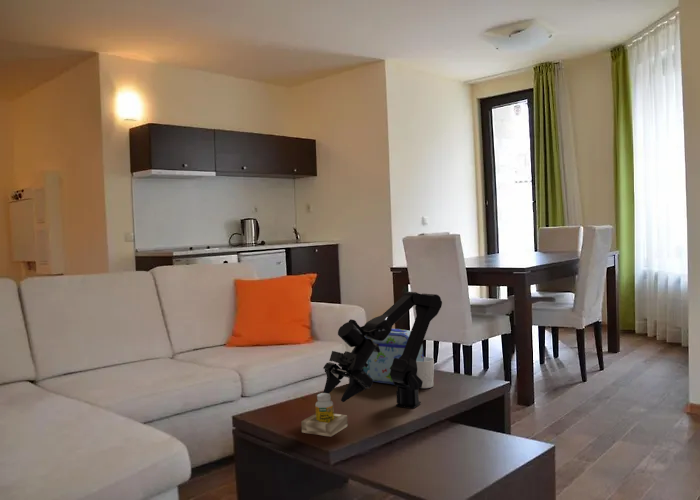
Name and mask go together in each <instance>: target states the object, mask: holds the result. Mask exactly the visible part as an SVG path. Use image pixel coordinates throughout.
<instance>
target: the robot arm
mask: <svg viewBox="0 0 700 500" xmlns="http://www.w3.org/2000/svg"><path fill="white" fill-rule="evenodd" d="M442 305H443V301H442V299H441V297H440V296H439V294H434V293H419V292H416V291H406V292H404V293H403V295H402V296H401V297H400V298H399V299H398V300H396V302H394V304H392V305H391V306H390V307H389V308H388V309H387V310H385V312H383V314H381V315H378V316H375V317H373V318H372V319H370V320H368V321H367V322H366V323H365V324H364V325H361V326H360V325H359V324H358V322H357V321H356V320H355V319H349V320H348V322H345V323H343V324H342V325H341V326H340V327H339V328H338V330H337V336H338V337H339V338H340V339H341V340H342V341H343V342H344V343H346V344H347V345H348V347H350V348H353V349H352V350H351V352H350V351H347V350H346V351H344V352H343V353H342V352H338V351H336V350H332V351H331V354H330V356H329V362H326V363H325V364H324V366H323V370H324V373H325V374H326V381H325V384H324V389H323V392H322V393H329V394H330V393H331V392H332V391H333V390H334V389H335V388H336V387H337V386H338V385H339V384H340V383H341V382H342V379H343V378H348V385H347V387H346V389H345V390H344V393H343V394H342V396H341V398H340V401H341V402H342V403H344V402H347V401H348V400H349V399H350V398H352V397H354V396H356V395H357V394H359V393H361V392H362V391H366V390H367V389H369V390H370V389H371V387H372V385H373V383H374V382H373V379H372V378H371V377H370V376H369V375H368V374H366V373H365V372H364V371H362V369H363V367H366V368H367V366H368V364H367V363H366V362H367V361H368V359H369V358H370V356H371V354H372V353H373V352H378V353H379V352H380V349H379V344H377V343H374V342H373V341H372V340H371V339H373V340H378V341H383V340H384V339H386V337H387V336H388V335H389V333H390V332H391V330H392V329H393V326H394V325H395V324H396V323H397V322H398V321H399V320H400V319H401V318H402V317H403V316H404V315H406V314H407V313H408V312H409V311H410V310H411V309H412V308H413V307H414V306H415V307H414V309H415V315H416V316H415V319H414V322H413V324H412V328H411V329H410V331H411V332H410V335H409V338H408V341H407V343H406V346H405V349H404V351H403V354H402V356H401V357H400V358H399V359H398V358H394V360H393V363H392V366H391V367H390V369H391V371H390V376H391V379H392V380H393V383H394V384H393V385H394V387H396V388H397V390H396V392H395V393H396V396H395V397H396V403H397V404H396V405H395V407H399V408H406V409H416V408H417V407H418V406H419V405H421V404H420V403H421V401H420V399H419V397H420V396H419V389H422V388H421V387H422V383H423V382H422V380H421V379H420V378H419V377H418V376H417V375H416V374H417V363H416V359H417V357H418V354H419V351H420V348H421V346H422V345H423V342H424V340H425V336H426V334H427V331H428V328H429V325H430V323H431V321H433V319H434V318H435V317H436V316H437V315H438V314H439V312H440V310H441V308H442ZM367 338H368V339H367Z"/></svg>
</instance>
